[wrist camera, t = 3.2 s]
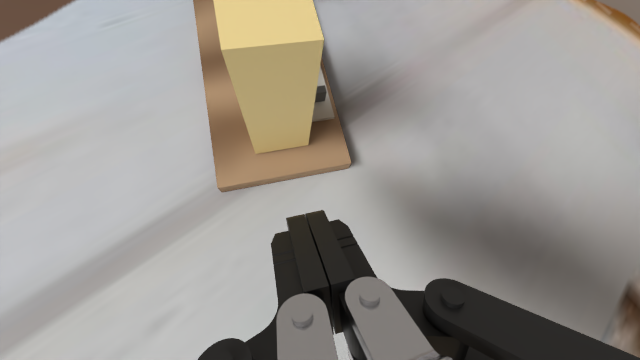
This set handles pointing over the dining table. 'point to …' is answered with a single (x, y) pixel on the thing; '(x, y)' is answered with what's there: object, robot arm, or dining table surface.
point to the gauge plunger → (273, 67)
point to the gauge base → (232, 135)
